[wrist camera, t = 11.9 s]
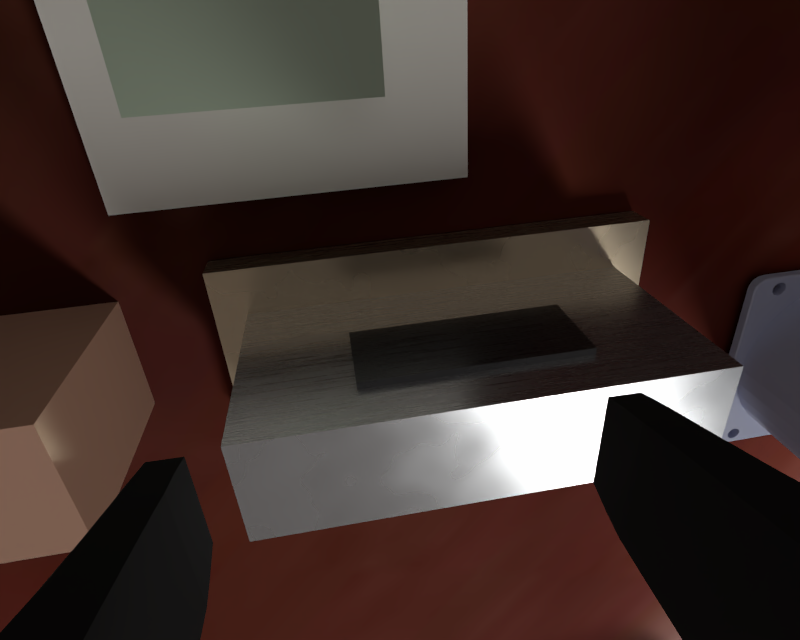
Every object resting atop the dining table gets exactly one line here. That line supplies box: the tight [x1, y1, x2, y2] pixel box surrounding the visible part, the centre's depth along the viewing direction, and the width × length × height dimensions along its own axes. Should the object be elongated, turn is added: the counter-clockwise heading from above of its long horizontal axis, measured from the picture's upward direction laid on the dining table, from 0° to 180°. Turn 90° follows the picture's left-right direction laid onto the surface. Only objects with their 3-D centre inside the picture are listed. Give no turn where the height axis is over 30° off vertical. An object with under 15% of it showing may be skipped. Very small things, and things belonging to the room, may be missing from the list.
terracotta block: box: [0, 302, 155, 564], centre depth 15 cm, size 4×4×6 cm
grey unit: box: [203, 211, 744, 542], centre depth 16 cm, size 14×6×7 cm, turn 94°
